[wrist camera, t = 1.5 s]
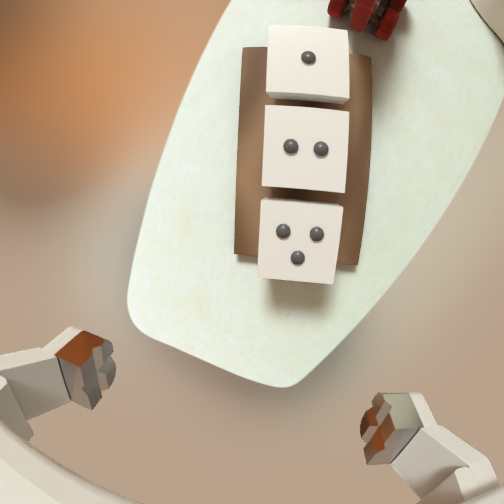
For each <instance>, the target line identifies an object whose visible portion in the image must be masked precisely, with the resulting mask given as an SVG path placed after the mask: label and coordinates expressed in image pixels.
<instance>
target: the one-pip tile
mask: <svg viewBox="0 0 504 504" xmlns="http://www.w3.org/2000/svg"><path fill="white" fill-rule="evenodd" d="M266 93H267V94H268V95H269V98H270V99H292V100H306V101H318V102H328V103H337V104H344V103H345V102H346V101H348V99H349V47H348V30H341V29H334V28H325V27H314V26H300V25H268V51H267V76H266Z"/></svg>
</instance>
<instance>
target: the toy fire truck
mask: <svg viewBox="0 0 504 504" xmlns="http://www.w3.org/2000/svg"><path fill="white" fill-rule="evenodd" d="M380 1H381V0H355V5H354V4H352V3H349V2H350V0H330V3H329V6H328V11H327V12H328V14H329V15H331V16H334V17H336V18H341V17H342V16H343V15H344V13H345V11H346V9H347V10H349V11H351V12H353V13H352V17H351V21H350V24H349V28H351V29H353V30H356V31H358V32H361V33H363V32H364V30H365V28H366V26H367V24H368V21H369V20H372V21H373V22H375V23H377V27H376V29H375V32H374V35H375V36H376V37H378V38H380V39H382V40H385V41H386V40H387V39H388V38H389V37H390V35H391V34H392V32H393V30H394V28H395V26H396V23H397V21H398V18H399V13H400V11H401V10H402V8H403V6H404V5H405V3H406V1H407V0H384V1H386V2H388V6H387V7H388V8H386V9H385V10H384V12H383V14H382V16H381V17H380V16H378V15H376V14H374V13H373V12H375V11H376V10H377V8H378V6H379V4H380Z"/></svg>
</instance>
